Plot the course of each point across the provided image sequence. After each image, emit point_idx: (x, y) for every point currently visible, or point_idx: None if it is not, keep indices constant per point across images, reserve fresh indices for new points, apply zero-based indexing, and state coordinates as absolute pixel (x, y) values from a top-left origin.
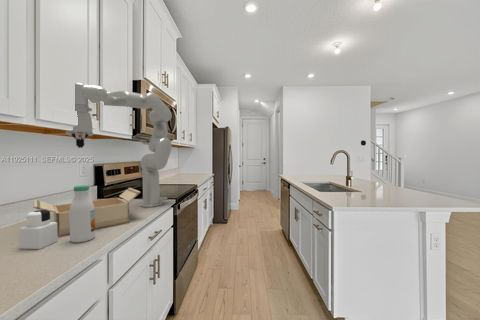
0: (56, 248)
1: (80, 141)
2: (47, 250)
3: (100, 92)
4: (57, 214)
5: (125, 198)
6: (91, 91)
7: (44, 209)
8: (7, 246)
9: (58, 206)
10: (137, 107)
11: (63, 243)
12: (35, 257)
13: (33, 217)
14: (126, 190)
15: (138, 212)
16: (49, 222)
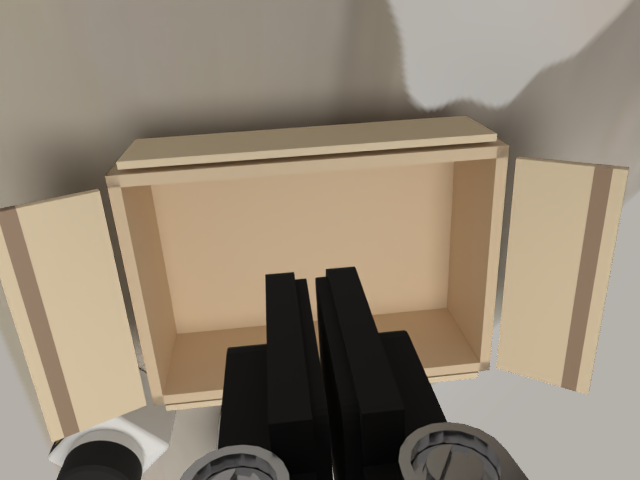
0: (183, 455)
1: (338, 477)
2: (159, 457)
3: None
4: (159, 400)
5: (509, 297)
6: None
7: (99, 422)
8: (17, 351)
9: (136, 183)
10: None
11: (199, 423)
12: None
13: None
14: (587, 180)
15: (568, 142)
16: (141, 447)
